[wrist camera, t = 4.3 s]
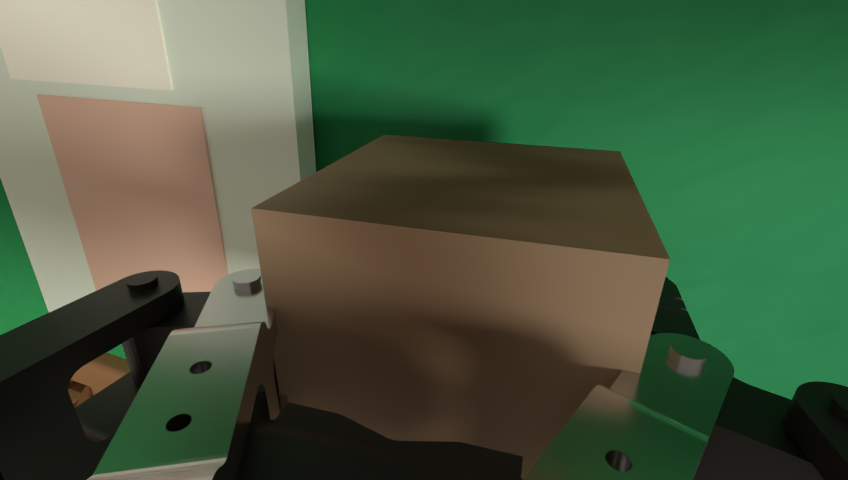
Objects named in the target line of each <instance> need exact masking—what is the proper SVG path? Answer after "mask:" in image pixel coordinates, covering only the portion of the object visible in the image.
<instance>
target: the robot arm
mask: <svg viewBox="0 0 848 480" xmlns="http://www.w3.org/2000/svg"><path fill="white" fill-rule="evenodd" d="M681 299H682V298H681V295H680V293H679V291H678V288H677V286H676V285H675V284H674V283H673V282H672V281H670V280H669V279H668V278H667V277H665V281H664V285H663V289H662V292H661V296H660V300H659V304H658V308H657V312H656V315H655V319H654V323H653V327H652V331H651V334H650V338H649V342H648V346H647V350H646V354H645V357H644V361H643V365H642V369H641V373H637V372H631V371H626V370H623V371H622V372H621V374H620V375H619V376H618V378H617V379H616V381H615V382H614V383H613V385H612V386H611V387H610V389H609V388H607V387H605V386H602V385H600V384H599V385H597V386H596V387H595V388H594V389H593V390H592V391H591V392H590V394H589V395H588V396H587V397H586V399H585V400H584V401H583V403H582V404H581V405H580V406H579V408H578V409H577V410H576V412H575V413H574V414H573V416H572V417H571V418H570V419H569V421H568V422H567V423H566V425H565V426H564V427H563V428H562V430H561V431H560V432H559V434H558V435H557V436H556V437H555V439H554V440H553V441H552V443H551V444H550V445H549V446H548V448H547V449H546V450H545V452H544V453H543V454H542V455H541V457H540V458H539V459H538V461H537V462H536V463H535V465H534V466H533V467H532V468H531V470H530V471H529V472H528V474H527V475H526V476H525V477H524V479H523V478H521V472H522V462H523V456H519V455H514V454H510V453H506V452H501V451H497V450H493V449H488V448H484V447H480V446H475V445H471V444H467V443H463V442H443V441H397V440H392V439H389V438H387V437H385V436H383V435H381V434H379V433H377V432H375V431H373V430H371V429H369V428H367V427H365V426H363V425H361V424H359V423H357V422H355V421H353V420H351V419H349V418H347V417H345V416H343V415H341V414H338V413H333V412H329V411H325V410H320V409H316V408H312V407H307V406H303V405H299V404H295V403H290V402H288V396H287V395H283V394H279V389H278V383H277V376H276V370H275V363H274V348H275V343H276V338H277V332H278V326H277V319H276V312H275V308H273V307H267V306H266V303H265V297H264V290H263V284H262V277H261V270H260V269H247V270H241V271H237V272H234V273H231V274H229V275H227V276H225V277H223V278H221V279H220V280H218V281H217V282H216V283H215V285H214V287H213V289H212V291H211V292H183V291H182V287H181V283H180V279H179V276H178V275H177V274H176V273H174V272H170V271H163V270H156V271H147V272H141V273H137V274H133V275H130V276H128V277H125V278H123V279H120V280H118V281H116V282H114V283H112V284H110V285H108V286H105V287H103V288H101V289H99V290H97V291H95V292H92V293H90V294H88V295H86V296H84V297H82V298H80V299H77V300H75V301H73V302H71V303H69V304H67V305H65V306H62V307H60V308H58V309H56V310H54V311H52V312H49V313H47V314H45V315H43V316H41V317H39V318H37V319H34V320H32V321H30V322H28V323H26V324H24V325H22V326H19V327H17V328H15V329H13V330H11V331H9V332H6V333H4V334H2V335H0V480H87V479H88V478H89V477H90V479H89V480H848V387H846V386H842V385H838V384H834V383H827V382H808V383H804V384H802V385H800V386H799V387H798V388H797V390H796V392H795V394H794V396H793V399H792V400H790V399H787V398H785V397H782V396H779V395H776V394H773V393H770V392H768V391H765V390H762V389H759V388H756V387H754V386H751V385H748V384H746V383H744V382H742V381H740V380H738V379H736V378H734V377H733V375H734V367H733V365H732V363H731V361H730V360H729V359H728V358H727V357H726V356H725V355H724V354H723V353H722V352H721V351H719V350H718V349H717V348H715V347H713V346H712V345H710V344H708V343H706V342H704V341H701V340H700V338H699V336H698V334H697V332H696V329H695V327H694V325H693V323H692V320H691V318H690V316H689V313H688V311H686V307H685V304H684V302H683V300H681ZM121 343H122V345H123V349H124V352H125V355H126V358H127V361H128V364H129V368H130V372H129V373H127V374H126V375H124V376H123V377H121V378H120V379H118V380H117V381H115V382H114V383H112V384H110V385H109V386H107V387H106V388H104V389H103V390H101V391H100V392H98V393H97V394H95V395H94V396H92V397H91V398H89V399H87V400H86V401H84V402H83V403H81V404H80V405H78V406H77V407H75V408H74V405H73V403H72V400H71V398H70V395H69V392H68V387H69V383H70V380H71V378H72V377H73V375H74V374H75V373H76V372H77V371H78V370H79V369H80V368H81V367H83V366H84V365H86V364H87V363H89V362H91V361H93V360H94V359H96V358H98V357H99V356H101V355H103V354H104V353H106V352H108V351H110V350H111V349H113V348H115V347H116V346H118V345H120V344H121Z"/></svg>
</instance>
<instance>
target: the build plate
mask: <svg viewBox="0 0 848 480" xmlns="http://www.w3.org/2000/svg"><path fill="white" fill-rule="evenodd" d="M314 173H316V161H315V146H314V131H313V116H312V101H311V86H310V71H309V56H308V41H307V26H306V11H305V0H0V179H1V181H2V184H3V187H4V190H5V192H6V195H7V198H8V201H9V203H10V206H11V209H12V212H13V214H14V217H15V220H16V223H17V226H18V228H19V231H20V234H21V237H22V239H23V242H24V245H25V248H26V250H27V253H28V256H29V259H30V261H31V264H32V267H33V270H34V273H35V275H36V278H37V281H38V284H39V286H40V289H41V292H42V295H43V297H44V300H45V303H46V306H47V308H48V311H49V312H52V311H54V310H56V309H58V308H60V307H62V306H65V305H67V304H69V303H71V302H73V301H75V300H77V299H80V298H82V297H84V296H86V295H88V294H90V293H92V292H95V291H97V290H99V289H101V288H103V287H105V286H108V285H110V284H112V283H114V282H116V281H118V280H120V279H123V278H125V277H128V276H130V275H133V274H137V273H141V272H147V271H156V270H163V271H170V272H174V273H176V274H177V275H178V276H179V279H180V283H181V287H182V291H183V292H211V291H212V289H213V287H214V285H215V283H216V282H217V281H218V280H220V279H221V278H223V277H225V276H227V275H229V274H231V273H234V272H237V271H241V270H247V269H260V264H259V257H258V251H257V244H256V237H255V231H254V224H253V217H252V211H251V208H253V207H254V206H256V205H258V204H260V203H262V202H263V201H265V200H267V199H269V198H271V197H272V196H274V195H276V194H278V193H280V192H281V191H283V190H285V189H287V188H289V187H290V186H292V185H294V184H296V183H298V182H299V181H301V180H303V179H305V178H307V177H308V176H310V175H312V174H314Z"/></svg>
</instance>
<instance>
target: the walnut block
mask: <svg viewBox="0 0 848 480" xmlns="http://www.w3.org/2000/svg"><path fill="white" fill-rule="evenodd" d="M251 211H252V217H253V224H254V231H255V237H256V244H257V251H258V257H259V264H260V270H261V277H262V284H263V290H264V297H265V303H266V306H267V307H273V308H275V312H276V319H277V326H278V332H277V338H276V343H275V348H274V363H275V370H276V376H277V383H278V389H279V394H283V395H287V396H288V402H290V403H295V404H299V405H303V406H307V407H312V408H316V409H320V410H325V411H329V412H333V413H338V414H341V415H343V416H345V417H347V418H349V419H351V420H353V421H355V422H357V423H359V424H361V425H363V426H365V427H367V428H369V429H371V430H373V431H375V432H377V433H379V434H381V435H383V436H385V437H387V438H389V439H392V440H397V441H443V442H463V443H467V444H471V445H475V446H480V447H484V448H488V449H493V450H497V451H501V452H506V453H510V454H514V455H519V456H523V462H522V472H521V478H523V479H524V477H525V476H526V475H527V474H528V472H529V471H530V470H531V468H532V467H533V466H534V465H535V463H536V462H537V461H538V459H539V458H540V457H541V455H542V454H543V453H544V452H545V450H546V449H547V448H548V446H549V445H550V444H551V443H552V441H553V440H554V439H555V437H556V436H557V435H558V434H559V432H560V431H561V430H562V428H563V427H564V426H565V425H566V423H567V422H568V421H569V419H570V418H571V417H572V416H573V414H574V413H575V412H576V410H577V409H578V408H579V406H580V405H581V404H582V403H583V401H584V400H585V399H586V397H587V396H588V395H589V394H590V392H591V391H592V390H593V389H594V388H595V387H596V386H597V385H599V384H600V385H602V386H605V387H607V388H609V389H610V387H611V386H612V385H613V383H614V382H615V381H616V379H617V378H618V376H619V375H620V374H621V372H622V371H623V370H626V371H631V372H637V373H641V369H642V365H643V361H644V357H645V354H646V350H647V346H648V342H649V338H650V334H651V331H652V327H653V323H654V319H655V315H656V312H657V308H658V304H659V300H660V296H661V292H662V289H663V285H664V281H665V277H666V273H667V269H668V266H669V262H670V258H669V256H668V254H667V252H666V249H665V247H664V245H663V243H662V241H661V239H660V237H659V234H658V232H657V230H656V228H655V226H654V224H653V221H652V219H651V217H650V215H649V213H648V211H647V209H646V206H645V204H644V202H643V200H642V198H641V196H640V193H639V191H638V189H637V187H636V185H635V183H634V181H633V178H632V176H631V174H630V172H629V170H628V168H627V166H626V163H625V161H624V159H623V157H622V155H621V153H620V151H606V150H592V149H578V148H564V147H550V146H536V145H522V144H508V143H494V142H481V141H467V140H453V139H439V138H425V137H411V136H397V135H382V136H381V137H379V138H377V139H375V140H373V141H372V142H370V143H368V144H366V145H364V146H363V147H361V148H359V149H357V150H355V151H354V152H352V153H350V154H348V155H346V156H345V157H343V158H341V159H339V160H337V161H336V162H334V163H332V164H330V165H328V166H327V167H325V168H323V169H321V170H319V171H318V172H316V173H314V174H312V175H310V176H308V177H307V178H305V179H303V180H301V181H299V182H298V183H296V184H294V185H292V186H290V187H289V188H287V189H285V190H283V191H281V192H280V193H278V194H276V195H274V196H272V197H271V198H269V199H267V200H265V201H263V202H262V203H260V204H258V205H256V206H254V207H253V208H251Z"/></svg>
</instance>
